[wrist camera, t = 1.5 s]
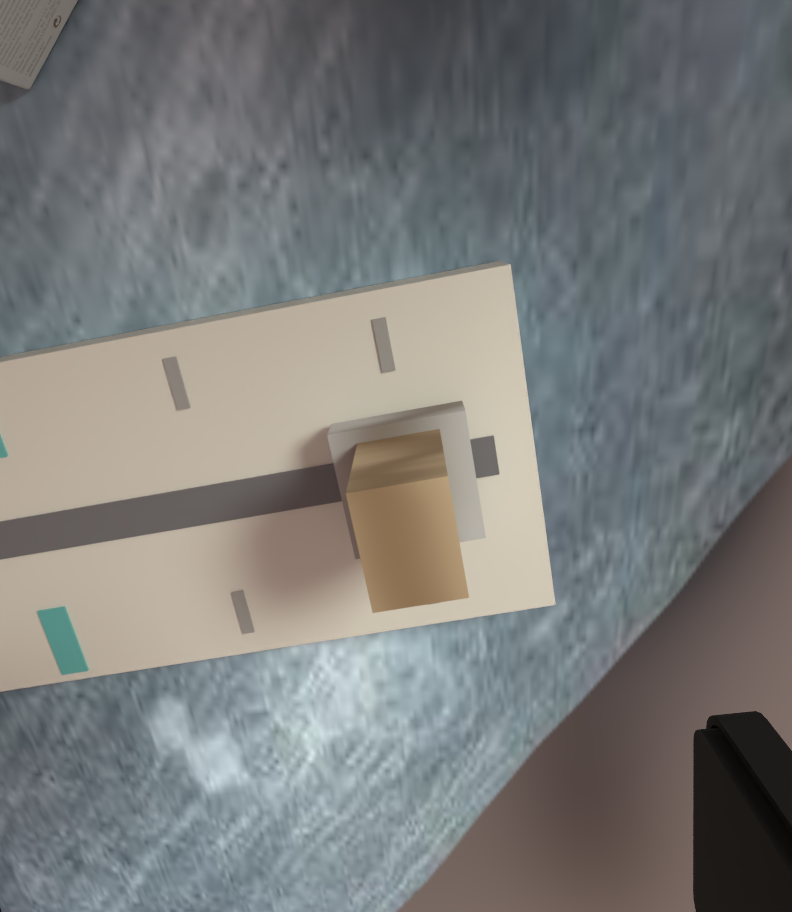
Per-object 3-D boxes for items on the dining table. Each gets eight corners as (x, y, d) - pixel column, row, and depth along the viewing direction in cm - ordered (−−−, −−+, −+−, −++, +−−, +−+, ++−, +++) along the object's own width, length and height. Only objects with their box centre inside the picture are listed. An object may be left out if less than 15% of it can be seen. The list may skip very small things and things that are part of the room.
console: (499, 261, 28) (510, 264, 25) (541, 571, 32) (555, 606, 29) (-108, 377, 29) (-165, 393, 27) (8, 656, 34) (-30, 697, 31)
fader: (461, 400, 26) (479, 453, 20) (481, 522, 27) (503, 606, 21) (331, 423, 26) (308, 483, 20) (358, 542, 28) (343, 631, 22)
